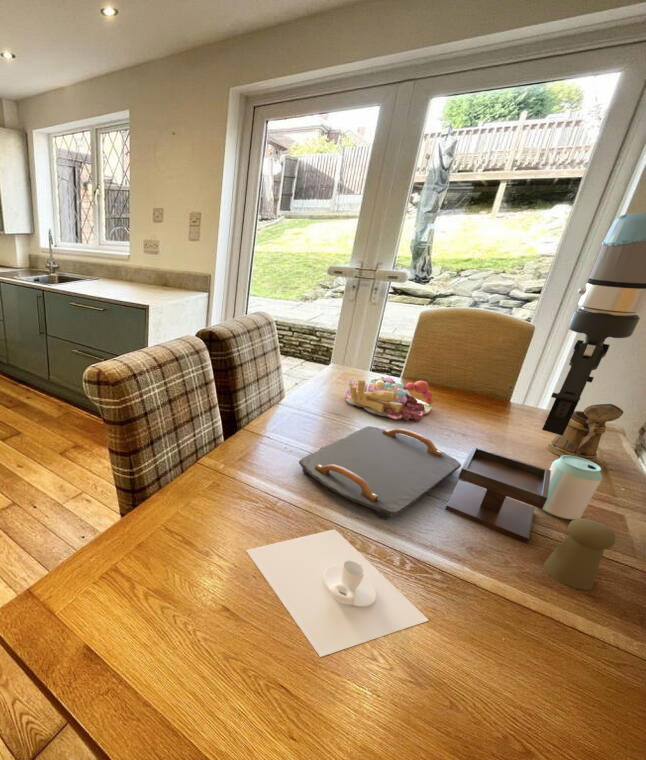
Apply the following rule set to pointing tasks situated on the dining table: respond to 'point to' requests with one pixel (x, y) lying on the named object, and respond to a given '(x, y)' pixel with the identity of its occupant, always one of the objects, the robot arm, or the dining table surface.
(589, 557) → the cork
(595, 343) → the robot arm
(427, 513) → the dining table surface
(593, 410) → the wooden mug
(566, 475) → the can
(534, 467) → the brown pedestal stand
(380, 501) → the serving tray
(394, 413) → the candy landscape model
